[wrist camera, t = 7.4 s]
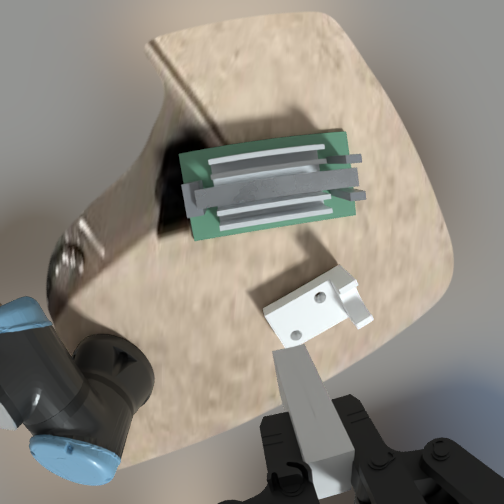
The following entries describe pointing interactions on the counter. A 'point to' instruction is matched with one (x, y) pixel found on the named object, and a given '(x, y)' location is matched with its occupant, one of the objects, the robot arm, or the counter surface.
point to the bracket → (317, 308)
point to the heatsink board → (260, 167)
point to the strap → (276, 187)
